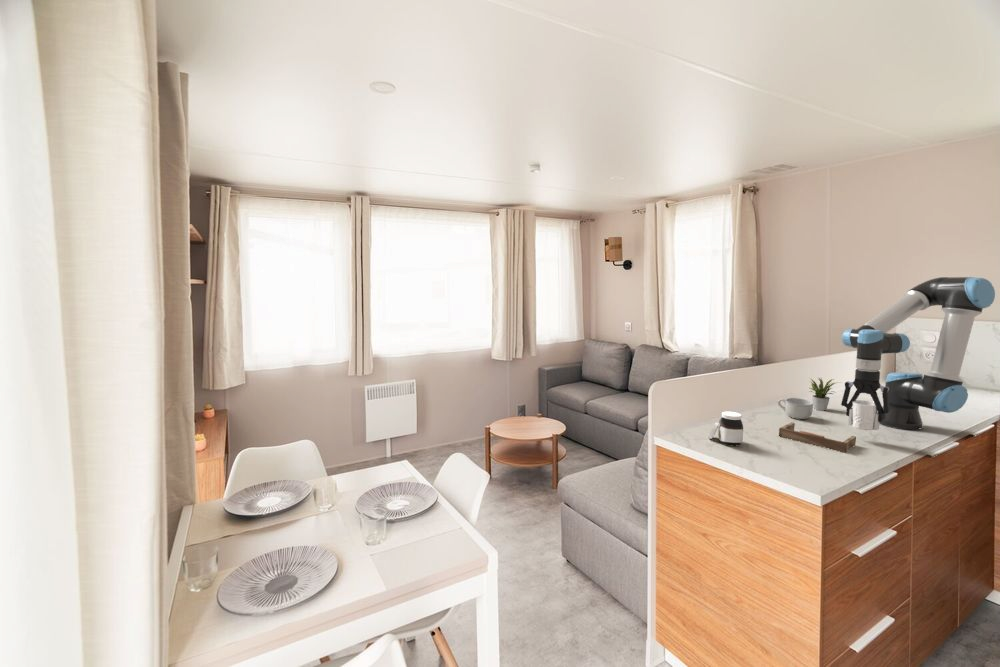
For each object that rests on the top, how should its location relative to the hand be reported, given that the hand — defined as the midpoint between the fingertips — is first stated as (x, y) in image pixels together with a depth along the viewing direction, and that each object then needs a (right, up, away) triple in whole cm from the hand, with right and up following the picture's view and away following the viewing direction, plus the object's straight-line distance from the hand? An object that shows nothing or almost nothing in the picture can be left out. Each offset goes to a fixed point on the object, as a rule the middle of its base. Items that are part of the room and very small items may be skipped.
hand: (863, 426), depth 184 cm
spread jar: (-55, -6, 0) cm, 55 cm away
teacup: (-7, -2, +32) cm, 33 cm away
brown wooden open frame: (-18, -6, +1) cm, 19 cm away
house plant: (+14, -1, +44) cm, 46 cm away
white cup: (0, -1, 0) cm, 1 cm away
